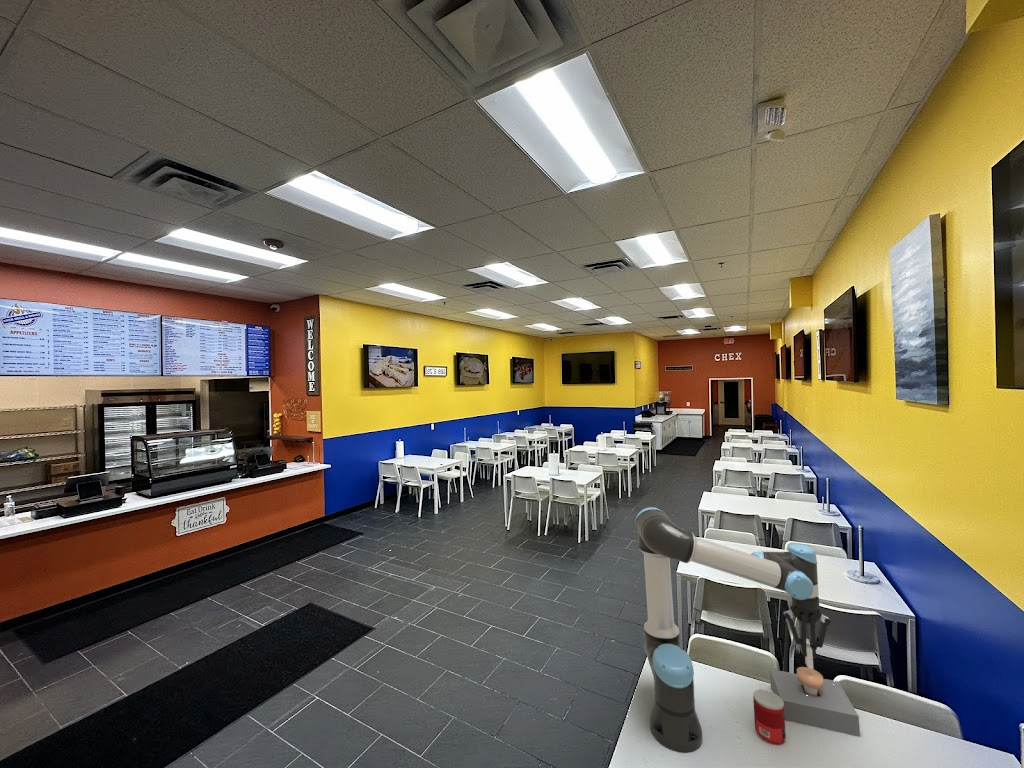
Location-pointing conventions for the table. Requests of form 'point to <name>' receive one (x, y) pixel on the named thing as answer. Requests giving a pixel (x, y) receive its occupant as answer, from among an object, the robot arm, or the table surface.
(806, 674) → the knob
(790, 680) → the control box
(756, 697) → the canned food
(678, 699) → the robot arm
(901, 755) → the table surface
